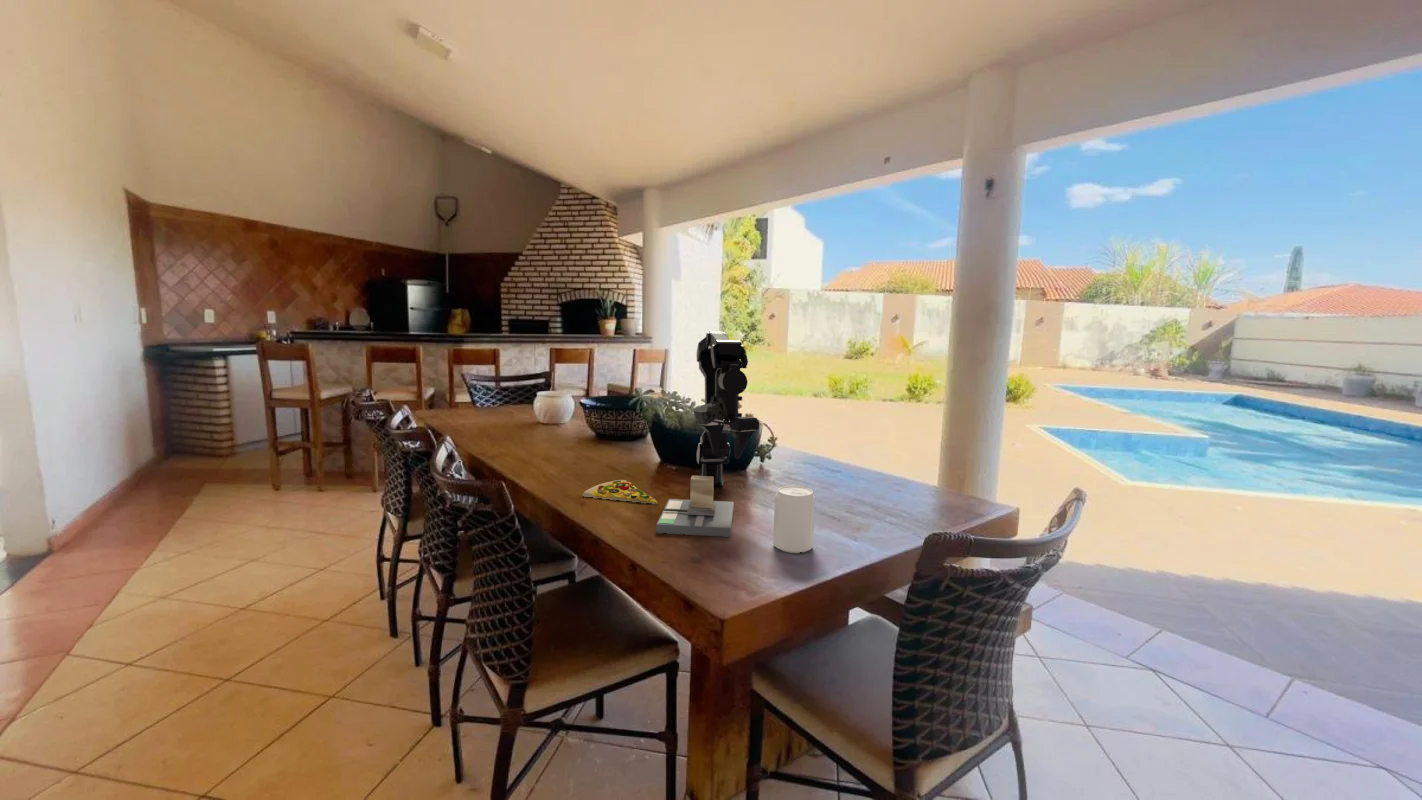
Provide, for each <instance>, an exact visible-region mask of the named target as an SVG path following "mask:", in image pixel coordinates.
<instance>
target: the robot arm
mask: <svg viewBox="0 0 1422 800" xmlns="http://www.w3.org/2000/svg"><path fill="white" fill-rule="evenodd" d="M696 362H698V369H699V371H700V372H701V374H702V375H703V377H704V405H701V406H699V407H697V408H695V409H693V413H694V417H695V423H696V424H698V426H699V427H700V428H702V429H703V431H702V432H703V433H702V434H701V435H700V439H699V440H700V441H699V442H698V444H697V449H696V462H697V464H698V465H701V476H713V477H714V487H717V488H718V487H722V488H723V485H724V481H725V479H724V478H723V464H724V465H725V464H726V465H728V464H729V463H730V456H731V450H732V448H731V446H730V443H729V442H728V435H727V433H726V432H725V431H724V426H725V425H727V426H729V428H730V429H731V430H729V433H730V434H731V436H732V437H733V450H734V458H735V459H737V460H739V459H740V458H741V457H742V454H743V453H744V451H745V449H746V446H747V444H748V442H749V441H750V439H751V438H752V436H753V434H755V433H756V432H757V430H758V431H759V430H760V421H759V419H758V417H753V416H748V415H747V416H743V413H742V412H739V402H741V401H742V402H743V396H739V395H740V394H743V392H745V390H746V389H747V386H748V378H747V376H746V373H744V371H742V370H741V369H747V367H748V364H749V360H748V356H747V351H746V349H745V346H744V345H743V344H742V341H741V340H733V339H731V340H730V339H729V338H728V336H727V335H726V332H725V331H724V332H723V331H719V330H718V331H715V330H713V331H707V332H706V334H705V337H704V338H703V339H701V340H700V341H699V342H698V343H697V349H696Z"/></svg>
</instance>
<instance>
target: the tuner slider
mask: <svg viewBox="0 0 1422 800" xmlns="http://www.w3.org/2000/svg"><path fill="white" fill-rule="evenodd" d="M714 487H715V486H714V477H713V476H702V475H691V477H690V489H689V491H690V492H689V494H690V496H689V498H690V499H689V500H690V503H689V505H688V508H687V510H686V509H663V510H664V511H674V512H687V515H709V516H714V513H715V507H716V503H713V501H714Z"/></svg>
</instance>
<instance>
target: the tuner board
mask: <svg viewBox="0 0 1422 800" xmlns="http://www.w3.org/2000/svg"><path fill="white" fill-rule="evenodd" d="M689 503H690V499H678V498H677V499H676V498H675V499H674V498H668V501H667V502H666V504H665V506H664V509H686V510H687V508H688V505H689ZM713 503H716V507H715V513H714V516H709V515H687V512H674V511H664V509H663V510H662V512H661V515H660V516H659V519H658V521H657V522H656V534H663V533H667V534H666V535H683V534H685V535H687V536H688V535H689V536H707V537H708V536H709V537H727V538H730V537H731V536H732V528H733V527H732V526H733V518H734V517H733V516H734V510H735V509H734V507H735V503H734V501H726V500H725V501H721V500H713Z"/></svg>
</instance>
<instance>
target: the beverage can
mask: <svg viewBox="0 0 1422 800" xmlns="http://www.w3.org/2000/svg"><path fill="white" fill-rule="evenodd" d="M773 509H774V512H773V514H774V515H773V538H772V539H773V540H772V542H773V543H772V544H773V546H774V547H775V548H777V549H779V550H780V551H782V552H785V553H790V554H801V553H800V552H802V553H805V552H808V551H810V550H811V549H813V547H814V531H815V529H814V527H815V509H816V497H815V495H814V491H813V489H811V488H809V487H805V486H800V485H784V486H781V487H779V488H777V492H776V493H775V496H774V508H773Z"/></svg>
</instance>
